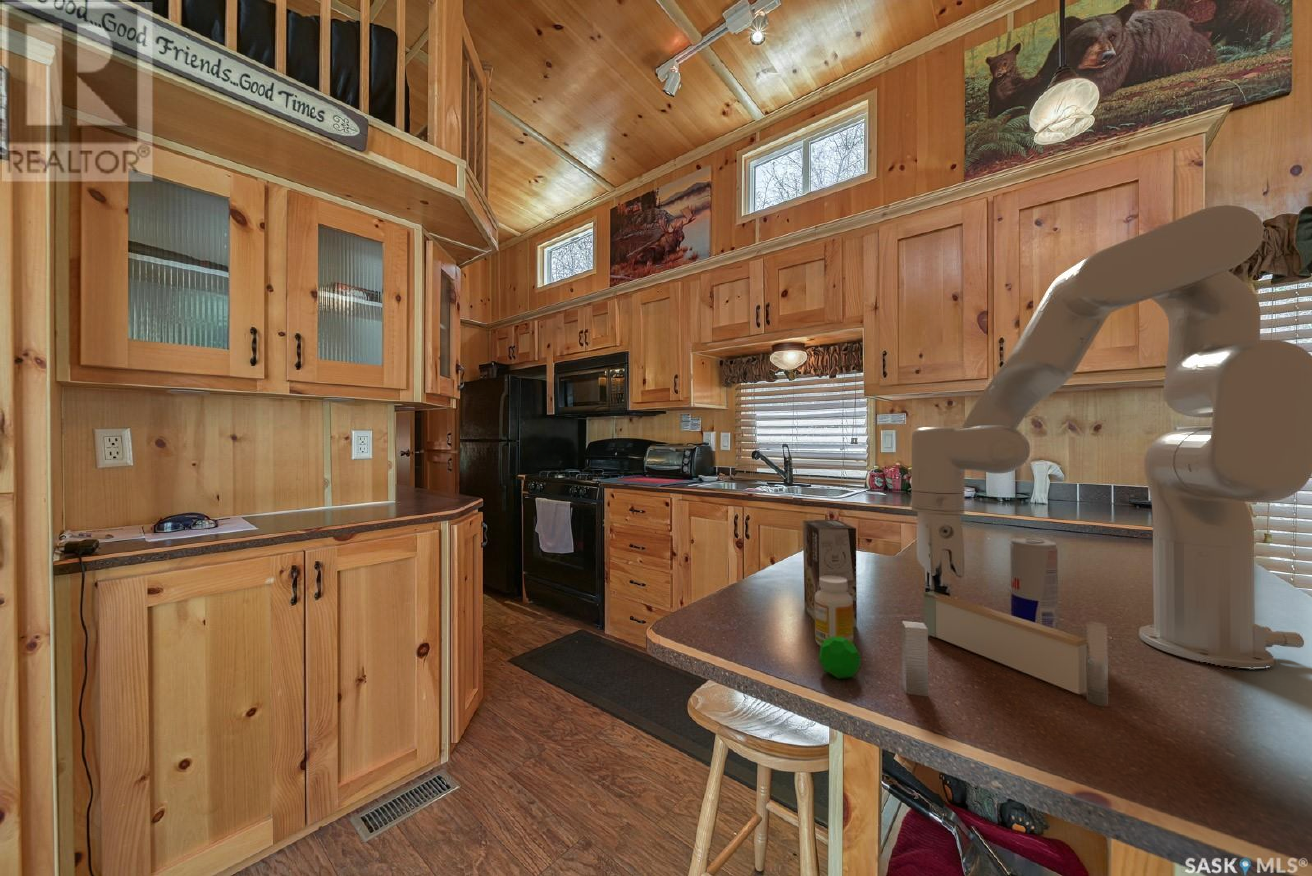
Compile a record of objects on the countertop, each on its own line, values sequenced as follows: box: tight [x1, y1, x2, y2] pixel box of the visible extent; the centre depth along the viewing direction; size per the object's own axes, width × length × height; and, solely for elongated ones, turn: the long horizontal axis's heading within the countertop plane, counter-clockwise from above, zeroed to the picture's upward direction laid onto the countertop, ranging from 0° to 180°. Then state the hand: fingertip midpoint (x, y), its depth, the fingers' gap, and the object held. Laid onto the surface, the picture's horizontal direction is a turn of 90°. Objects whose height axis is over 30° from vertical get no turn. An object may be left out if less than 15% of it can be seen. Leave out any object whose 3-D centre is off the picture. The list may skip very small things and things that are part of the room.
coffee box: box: [802, 519, 858, 628], centre depth 83 cm, size 9×6×16 cm
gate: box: [923, 591, 1087, 695], centre depth 66 cm, size 20×2×6 cm, turn 24°
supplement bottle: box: [814, 575, 854, 647], centre depth 72 cm, size 5×5×10 cm
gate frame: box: [901, 620, 1109, 707], centre depth 57 cm, size 22×2×9 cm, turn 81°
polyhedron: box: [818, 636, 861, 679], centre depth 63 cm, size 5×5×5 cm
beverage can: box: [1009, 537, 1059, 630], centre depth 73 cm, size 6×6×15 cm
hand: (937, 613), depth 79 cm, fingers closed
